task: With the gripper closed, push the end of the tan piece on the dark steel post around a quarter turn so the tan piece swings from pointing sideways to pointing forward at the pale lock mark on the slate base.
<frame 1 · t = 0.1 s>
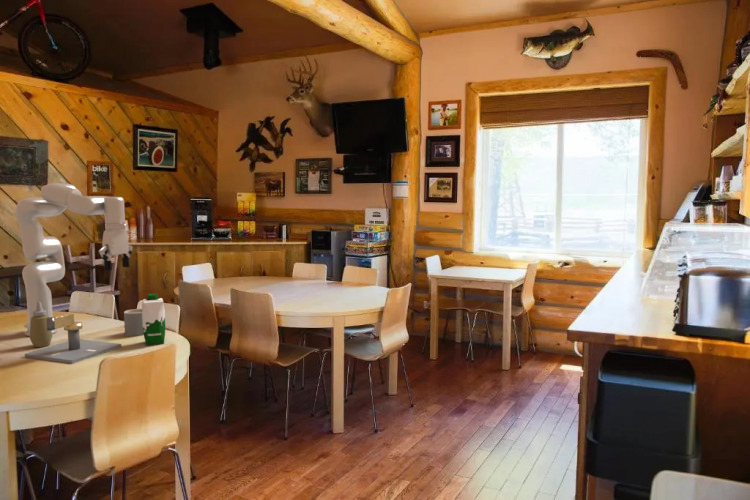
hand: (117, 268, 239), 31 cm above the table, tool pointing down, fingers open, 9 cm apart
milk carton: (154, 343, 243), on the table
tan piece: (64, 322, 224), point 13 cm above the table, hinge at 0.0°
coffee mug: (141, 333, 259), on the table
squeeze bottle: (41, 346, 238), on the table
post base: (74, 351, 229), on the table
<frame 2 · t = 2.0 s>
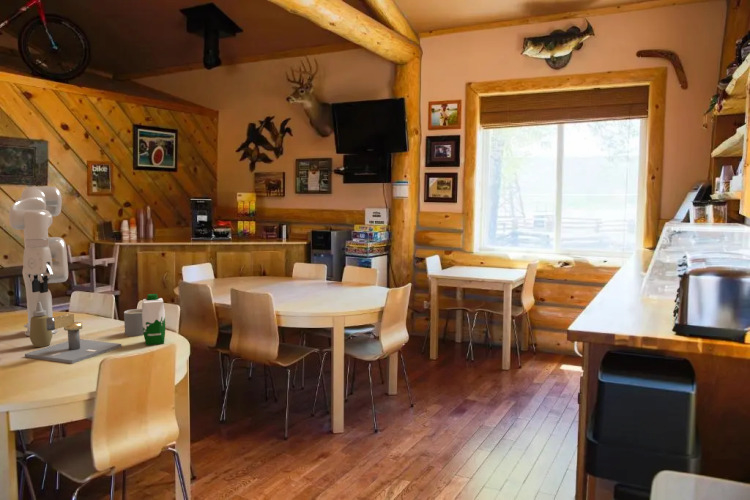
hand: (40, 291, 220), 25 cm above the table, tool pointing down, fingers open, 3 cm apart
nothing on the table moved.
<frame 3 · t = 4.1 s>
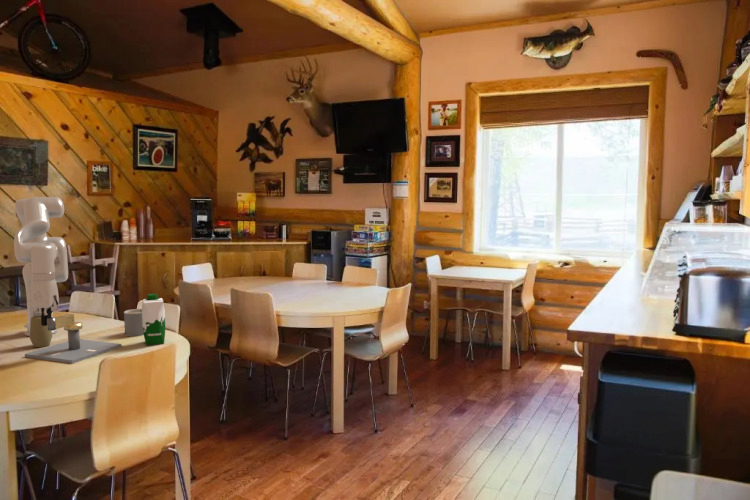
hand: (46, 324, 221), 13 cm above the table, tool pointing down, fingers closed
tan piece: (64, 322, 224), point 13 cm above the table, hinge at 2.3°, touching gripper
everything else where it was.
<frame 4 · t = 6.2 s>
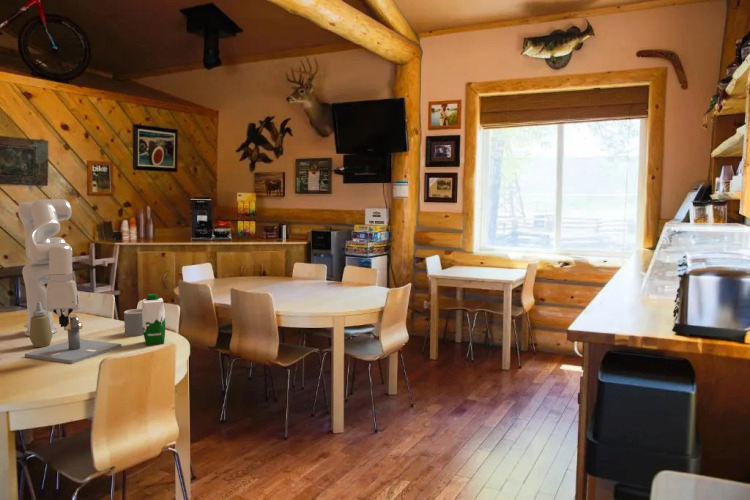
hand: (64, 326, 219), 13 cm above the table, tool pointing down, fingers closed
tan piece: (73, 322, 225), point 13 cm above the table, hinge at 51.4°, touching gripper
everything else where it was.
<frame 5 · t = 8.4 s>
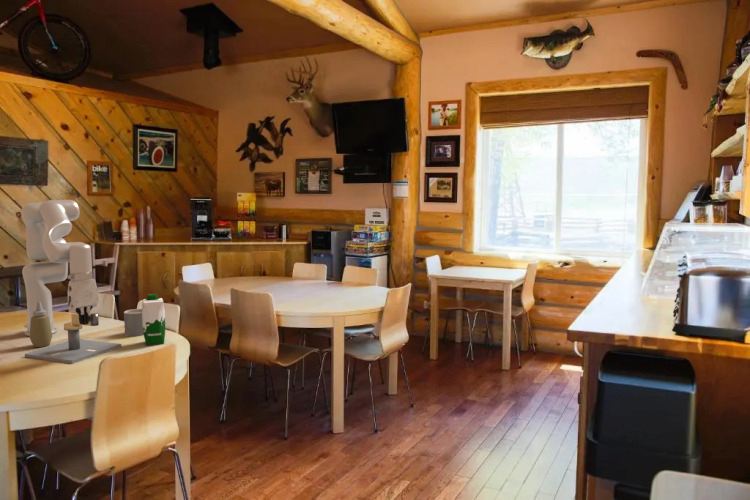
hand: (84, 323, 223), 12 cm above the table, tool pointing down, fingers closed
tan piece: (81, 321, 227), point 13 cm above the table, hinge at 95.9°
everything else where it was.
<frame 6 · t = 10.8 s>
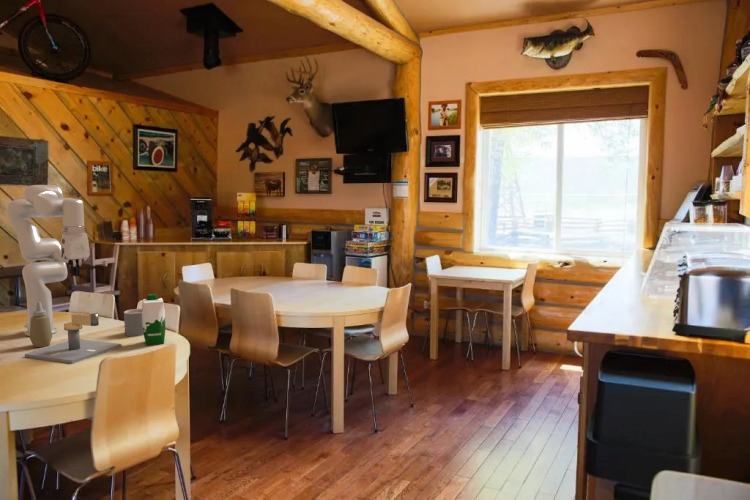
hand: (75, 275, 234), 29 cm above the table, tool pointing down, fingers closed
nothing on the table moved.
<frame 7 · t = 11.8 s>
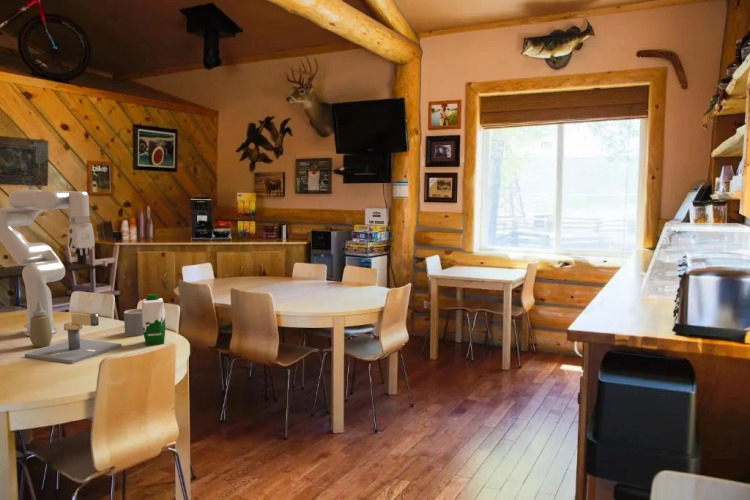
hand: (82, 264, 246), 32 cm above the table, tool pointing down, fingers closed
nothing on the table moved.
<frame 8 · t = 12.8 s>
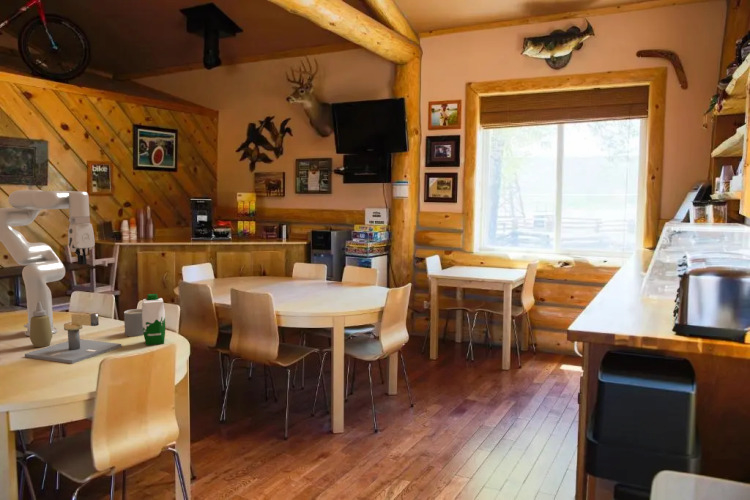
hand: (82, 264, 246), 32 cm above the table, tool pointing down, fingers closed
nothing on the table moved.
at the end: tan piece at +96° (first picture: +0°); the gripper is holding nothing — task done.
